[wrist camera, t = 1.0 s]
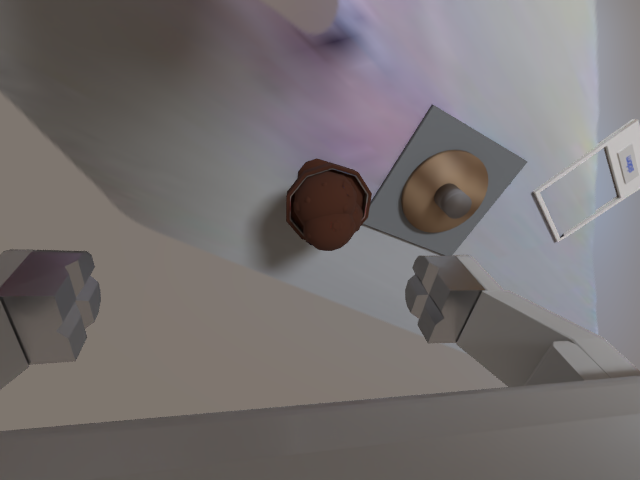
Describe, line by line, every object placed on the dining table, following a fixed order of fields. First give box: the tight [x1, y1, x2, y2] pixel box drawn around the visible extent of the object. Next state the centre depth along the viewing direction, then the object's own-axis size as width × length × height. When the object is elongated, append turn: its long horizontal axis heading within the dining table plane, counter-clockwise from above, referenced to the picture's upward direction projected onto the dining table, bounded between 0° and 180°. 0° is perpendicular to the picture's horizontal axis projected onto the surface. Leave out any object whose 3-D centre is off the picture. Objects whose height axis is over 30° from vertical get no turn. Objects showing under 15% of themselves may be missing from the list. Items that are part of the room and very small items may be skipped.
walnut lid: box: [401, 150, 488, 233], centre depth 54 cm, size 14×14×5 cm
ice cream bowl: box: [286, 159, 372, 251], centre depth 46 cm, size 11×11×15 cm
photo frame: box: [533, 119, 640, 242], centre depth 62 cm, size 15×1×18 cm
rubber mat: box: [363, 105, 527, 256], centre depth 57 cm, size 20×20×1 cm
